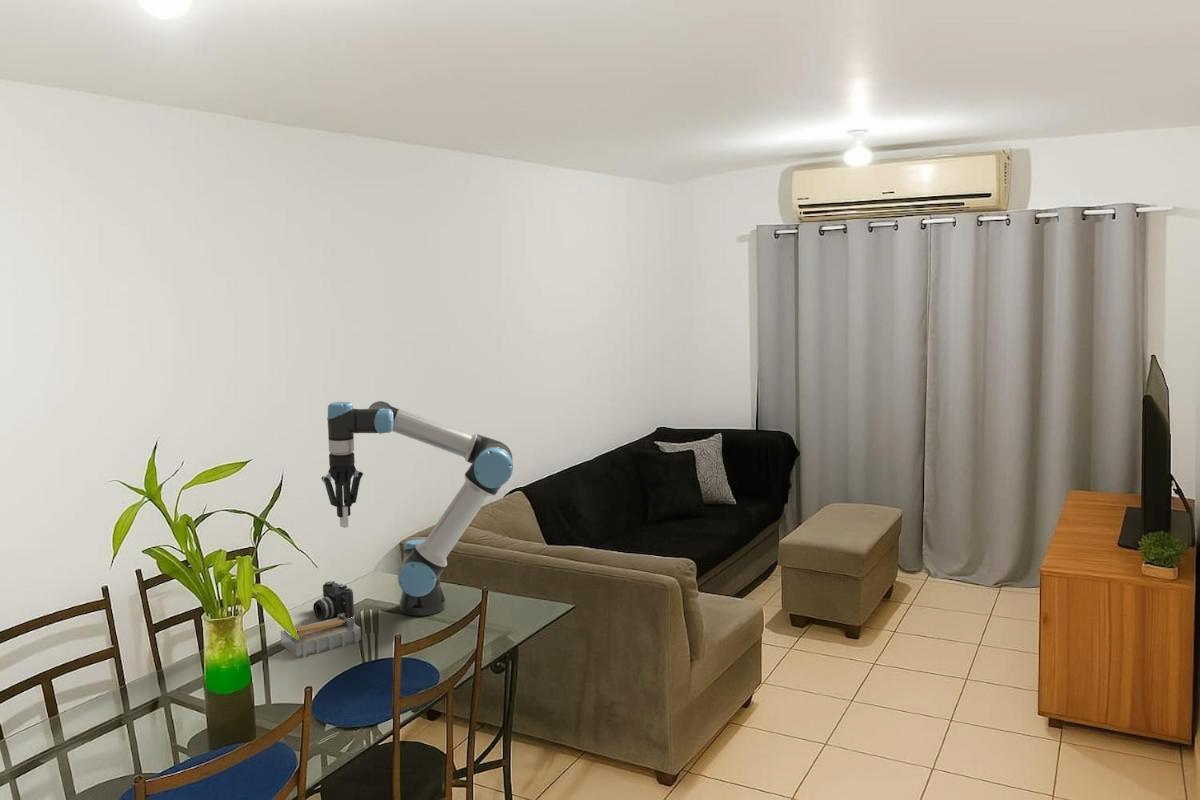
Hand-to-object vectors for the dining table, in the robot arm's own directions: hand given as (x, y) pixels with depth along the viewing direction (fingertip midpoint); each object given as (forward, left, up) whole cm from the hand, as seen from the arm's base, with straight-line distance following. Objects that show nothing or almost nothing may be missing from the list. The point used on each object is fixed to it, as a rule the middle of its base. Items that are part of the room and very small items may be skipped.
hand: (344, 526), depth 290 cm
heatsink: (+12, +8, -32) cm, 35 cm away
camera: (+1, -11, -33) cm, 34 cm away
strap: (+12, +8, -28) cm, 31 cm away
